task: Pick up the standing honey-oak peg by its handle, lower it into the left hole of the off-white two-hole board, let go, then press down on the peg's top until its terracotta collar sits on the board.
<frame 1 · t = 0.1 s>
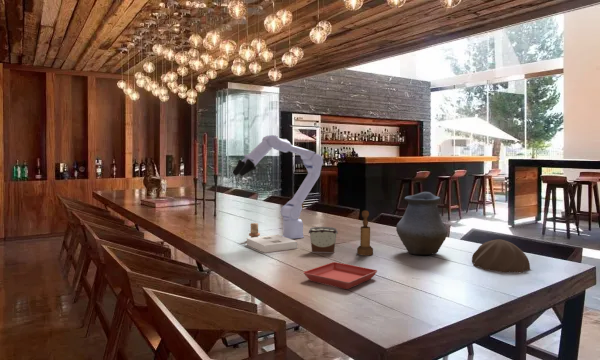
hand: (237, 174, 194), 32 cm above the table, tool tilted 50°, fingers open, 7 cm apart
food container: (323, 251, 182), on the table
decorative dome: (499, 266, 159), on the table
hole board: (271, 246, 191), on the table
brown wooden tall figure: (365, 254, 177), on the table
oak peg: (254, 240, 204), on the table
grey ceramic jar: (421, 253, 178), on the table
plant saucer: (340, 281, 141), on the table
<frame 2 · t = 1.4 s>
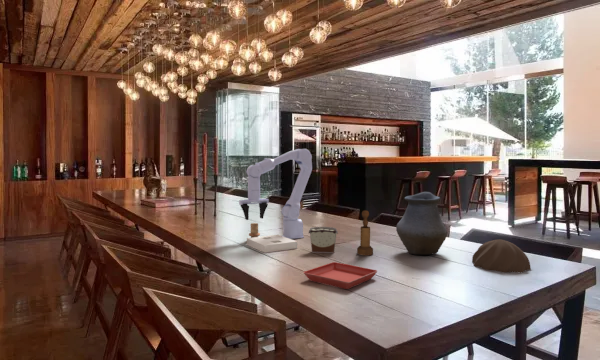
hand: (254, 218, 203), 10 cm above the table, tool pointing down, fingers open, 7 cm apart
nothing on the table moved.
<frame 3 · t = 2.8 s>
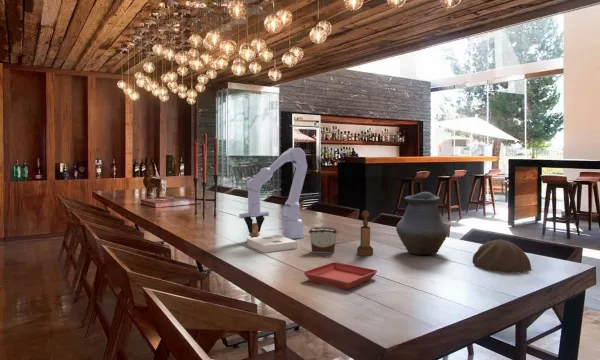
hand: (254, 232, 204), 4 cm above the table, tool pointing down, fingers closed on oak peg, 4 cm apart
oak peg: (254, 240, 204), on the table, touching gripper
everything else where it was.
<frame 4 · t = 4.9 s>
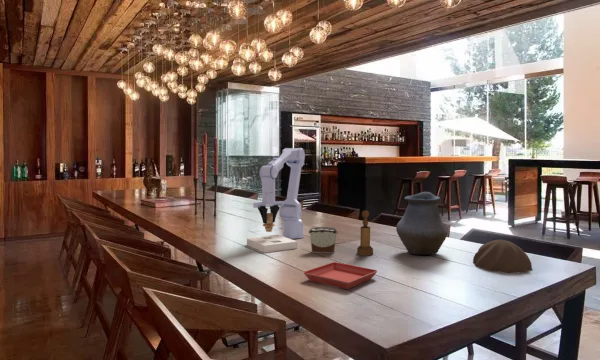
hand: (268, 222, 191), 10 cm above the table, tool pointing down, fingers closed on oak peg, 4 cm apart
oak peg: (268, 231, 192), point 7 cm above the table, touching gripper
everything else where it was.
when the fingers open (5 cm above the table, at t = 7.2 s): oak peg stays where it is, resting on hole board.
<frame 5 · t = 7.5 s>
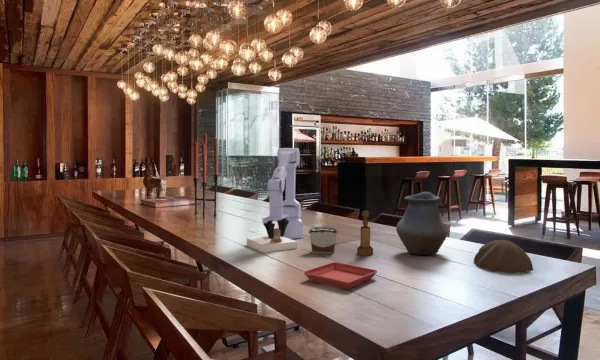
hand: (276, 237, 187), 5 cm above the table, tool pointing down, fingers open, 6 cm apart
oak peg: (276, 247, 187), resting on hole board
everything else where it was.
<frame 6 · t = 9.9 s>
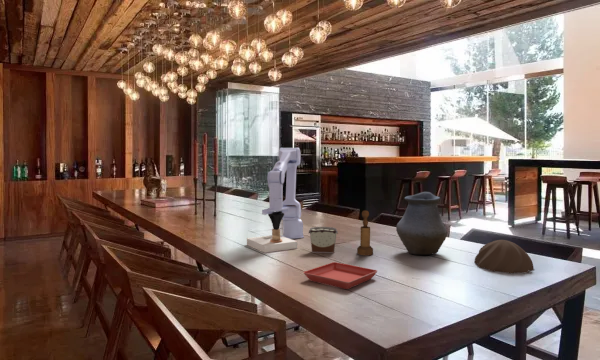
hand: (276, 229, 186), 8 cm above the table, tool pointing down, fingers closed, pressing on oak peg
oak peg: (276, 247, 187), resting on hole board, touching gripper
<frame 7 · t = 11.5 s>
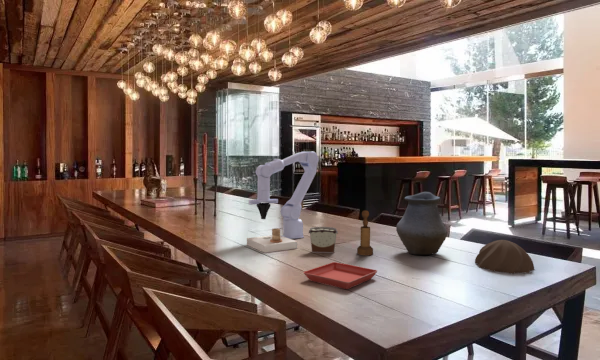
hand: (263, 219, 202), 10 cm above the table, tool pointing down, fingers closed
oak peg: (276, 247, 187), resting on hole board
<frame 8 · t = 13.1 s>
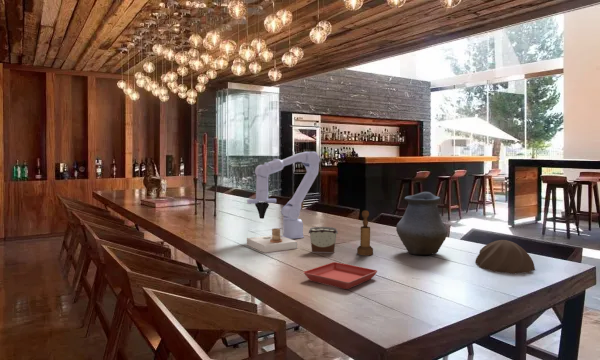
hand: (261, 218, 204), 10 cm above the table, tool pointing down, fingers closed
at the end: oak peg 0.0 cm from the target spot on the hole board, point 0.5 cm above the hole board's base; oak peg tilted 0°; the gripper is holding nothing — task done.
